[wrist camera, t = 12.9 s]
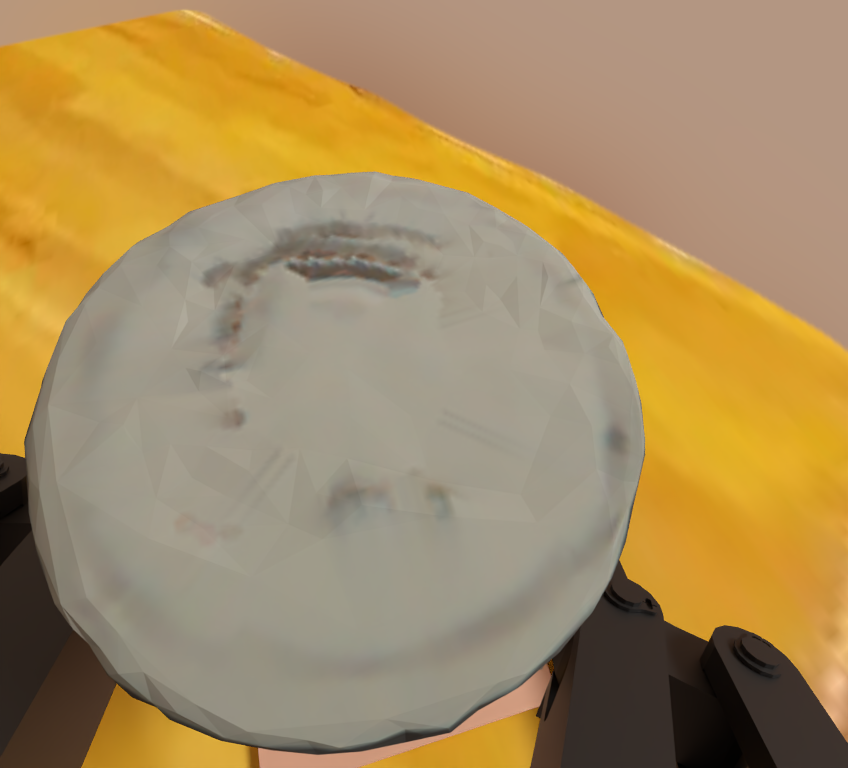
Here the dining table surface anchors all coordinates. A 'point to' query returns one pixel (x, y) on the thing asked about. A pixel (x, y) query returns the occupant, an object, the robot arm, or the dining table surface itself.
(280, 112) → the dining table surface
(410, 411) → the sauce bottle
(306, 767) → the terracotta tile
